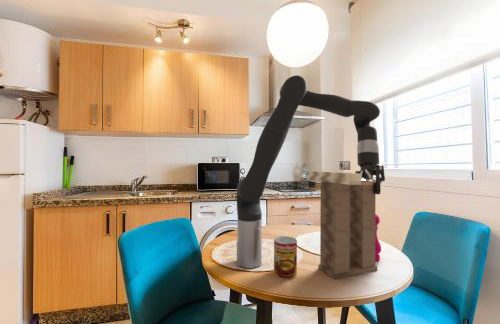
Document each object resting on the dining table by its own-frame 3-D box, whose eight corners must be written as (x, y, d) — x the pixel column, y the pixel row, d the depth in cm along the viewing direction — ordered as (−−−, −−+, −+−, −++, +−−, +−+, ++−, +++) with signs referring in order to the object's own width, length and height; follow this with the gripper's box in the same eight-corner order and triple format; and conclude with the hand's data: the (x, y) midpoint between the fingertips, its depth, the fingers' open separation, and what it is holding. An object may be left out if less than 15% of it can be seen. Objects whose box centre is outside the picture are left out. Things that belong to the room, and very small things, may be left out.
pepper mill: (383, 262, 96) (384, 211, 96) (363, 261, 97) (364, 210, 97) (378, 255, 103) (378, 207, 103) (359, 254, 104) (359, 207, 104)
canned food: (273, 278, 83) (273, 242, 83) (274, 268, 91) (274, 235, 91) (297, 280, 82) (297, 244, 82) (296, 269, 90) (296, 236, 89)
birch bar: (306, 179, 100) (306, 170, 100) (315, 179, 101) (315, 170, 101) (351, 184, 77) (351, 173, 77) (361, 184, 79) (361, 173, 79)
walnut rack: (318, 268, 91) (318, 181, 90) (358, 260, 98) (358, 180, 97) (335, 279, 82) (335, 183, 82) (377, 270, 89) (377, 181, 89)
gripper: (348, 156, 102) (349, 196, 98) (370, 147, 88) (372, 192, 85) (365, 158, 103) (366, 197, 99) (389, 149, 89) (392, 194, 86)
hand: (369, 195), depth 92 cm, fingers open, 8 cm apart
